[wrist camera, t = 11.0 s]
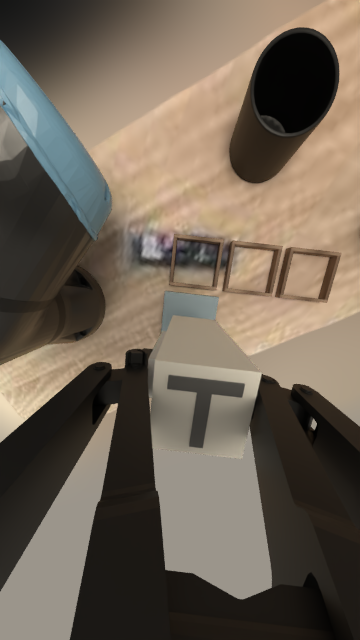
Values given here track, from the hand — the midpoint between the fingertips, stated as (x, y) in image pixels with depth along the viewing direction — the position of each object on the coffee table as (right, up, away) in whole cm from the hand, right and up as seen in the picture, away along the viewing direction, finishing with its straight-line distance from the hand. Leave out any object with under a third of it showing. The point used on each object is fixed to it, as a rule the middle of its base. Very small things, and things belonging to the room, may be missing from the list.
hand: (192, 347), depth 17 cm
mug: (+13, +31, +10) cm, 35 cm away
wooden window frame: (+11, +12, +14) cm, 22 cm away
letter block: (0, +1, +3) cm, 3 cm away
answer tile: (0, +3, +16) cm, 16 cm away
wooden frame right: (+21, +11, +14) cm, 28 cm away
